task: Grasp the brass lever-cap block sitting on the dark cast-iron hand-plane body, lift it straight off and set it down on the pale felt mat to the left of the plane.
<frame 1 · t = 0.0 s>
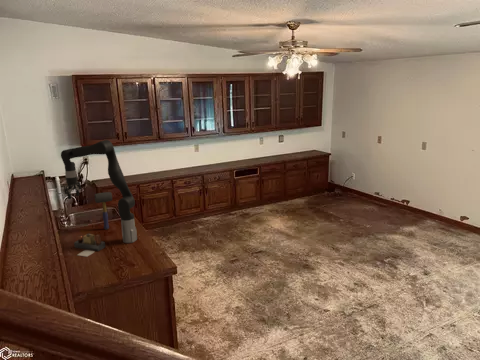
hand: (73, 197, 274), 29 cm above the countertop, fingers open, 8 cm apart
plane body: (90, 247, 258), on the countertop
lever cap: (89, 242, 257), point 4 cm above the countertop, touching plane body
felt mat: (86, 253, 248), on the countertop
rubber mallet: (106, 229, 290), on the countertop
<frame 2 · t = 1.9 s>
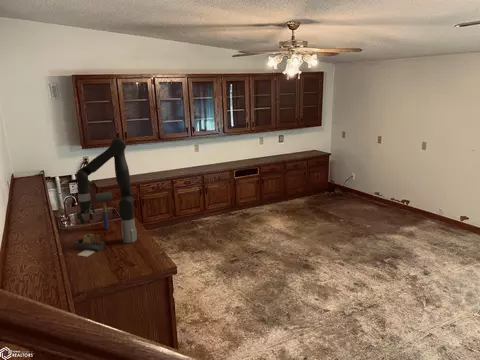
hand: (87, 221, 253), 19 cm above the countertop, fingers open, 8 cm apart
nothing on the countertop moved.
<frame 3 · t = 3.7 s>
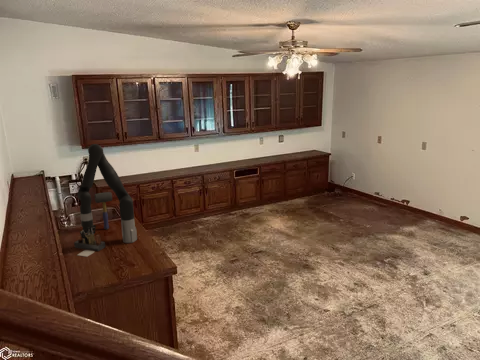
hand: (89, 241, 257), 4 cm above the countertop, fingers closed on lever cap, 4 cm apart
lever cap: (89, 242, 257), point 4 cm above the countertop, touching gripper, plane body
everything else where it was.
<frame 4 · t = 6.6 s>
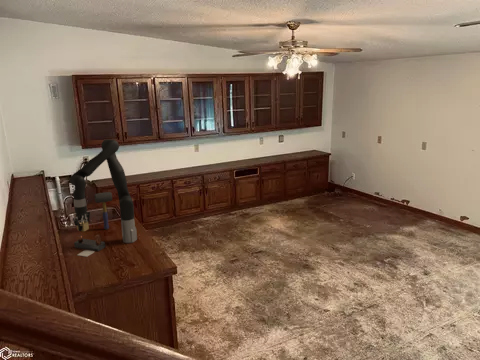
hand: (83, 229, 244), 18 cm above the countertop, fingers closed on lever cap, 4 cm apart
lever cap: (83, 229, 244), point 17 cm above the countertop, touching gripper
everything else where it was.
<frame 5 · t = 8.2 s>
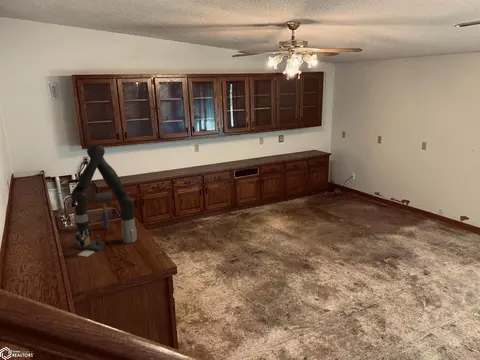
hand: (84, 244, 247), 7 cm above the countertop, fingers closed on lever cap, 4 cm apart
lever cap: (84, 244, 247), point 7 cm above the countertop, touching gripper
everything else where it was.
when the fingers open (2 cm above the countertop, at t = 9.6 s): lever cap drops 2 cm, resting on felt mat.
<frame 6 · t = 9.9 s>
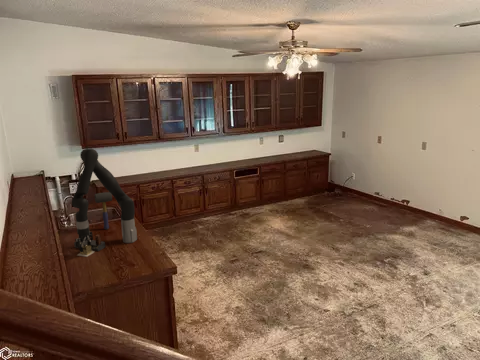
hand: (85, 249, 247), 3 cm above the countertop, fingers open, 7 cm apart
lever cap: (86, 252, 248), resting on felt mat
everything else where it was.
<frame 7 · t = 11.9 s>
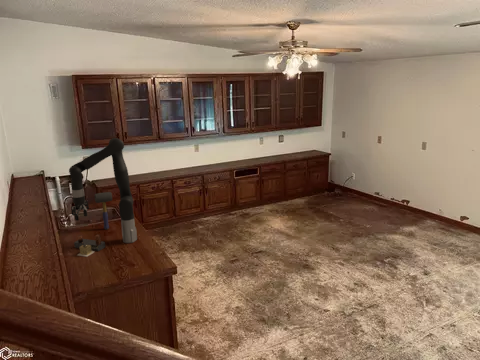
hand: (81, 218, 249), 23 cm above the countertop, fingers open, 8 cm apart
nothing on the countertop moved.
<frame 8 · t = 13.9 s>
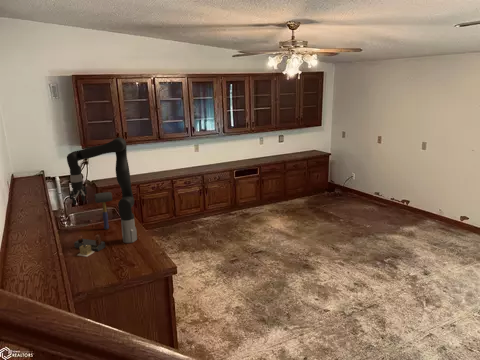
hand: (79, 202, 258), 30 cm above the countertop, fingers open, 8 cm apart
nothing on the countertop moved.
at the end: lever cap inside the target area on the felt mat (0.1 cm from its centre), point 0.4 cm above the felt mat's base; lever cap tilted 0°; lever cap touching felt mat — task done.
